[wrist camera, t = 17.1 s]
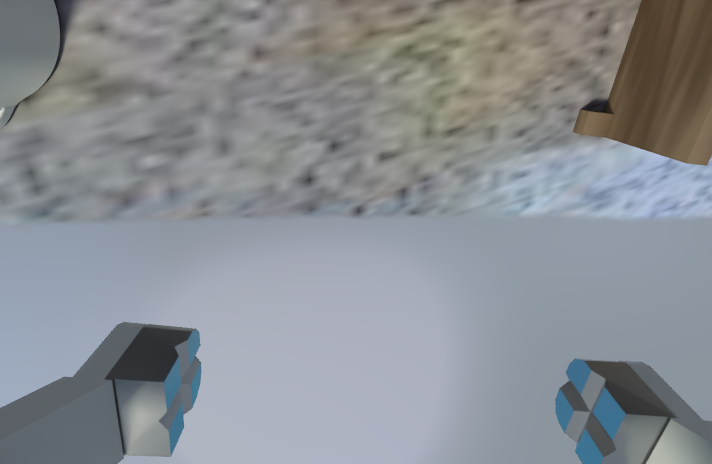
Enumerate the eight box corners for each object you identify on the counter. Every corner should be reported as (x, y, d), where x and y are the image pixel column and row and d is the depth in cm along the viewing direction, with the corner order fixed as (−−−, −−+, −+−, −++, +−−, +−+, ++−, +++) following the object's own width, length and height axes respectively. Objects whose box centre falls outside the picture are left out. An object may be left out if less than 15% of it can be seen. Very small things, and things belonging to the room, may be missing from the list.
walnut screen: (573, 131, 38) (655, 159, 28) (629, -47, 33) (756, -92, 23) (634, 138, 38) (737, 169, 28) (700, -37, 33) (857, -76, 23)
